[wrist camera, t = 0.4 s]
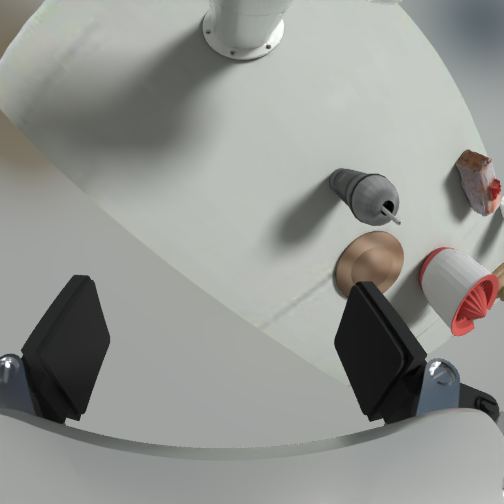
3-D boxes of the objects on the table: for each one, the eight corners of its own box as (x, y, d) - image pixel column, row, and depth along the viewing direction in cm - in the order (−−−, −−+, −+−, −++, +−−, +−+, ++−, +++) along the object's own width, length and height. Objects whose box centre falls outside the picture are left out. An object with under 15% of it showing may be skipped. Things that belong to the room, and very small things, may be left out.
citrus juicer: (428, 306, 61) (468, 354, 43) (402, 275, 55) (451, 331, 37) (464, 264, 57) (510, 305, 39) (443, 226, 51) (503, 268, 33)
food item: (483, 190, 47) (510, 203, 39) (467, 210, 49) (494, 225, 41) (467, 146, 42) (498, 155, 33) (450, 166, 44) (481, 178, 36)
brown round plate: (356, 221, 48) (358, 223, 47) (412, 242, 51) (415, 244, 51) (323, 291, 55) (324, 294, 54) (380, 302, 58) (382, 305, 57)
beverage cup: (361, 196, 46) (428, 243, 28) (324, 204, 46) (381, 257, 28) (357, 157, 43) (431, 186, 25) (319, 164, 43) (380, 195, 25)
